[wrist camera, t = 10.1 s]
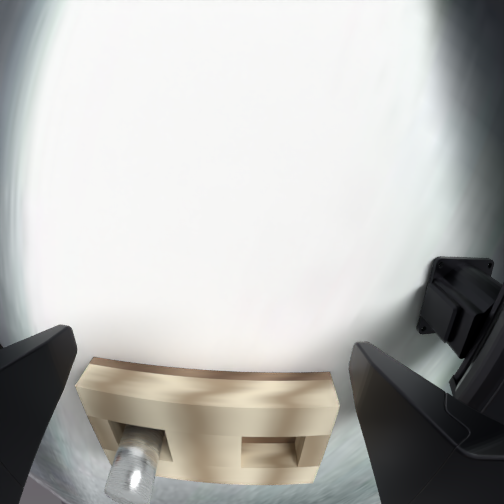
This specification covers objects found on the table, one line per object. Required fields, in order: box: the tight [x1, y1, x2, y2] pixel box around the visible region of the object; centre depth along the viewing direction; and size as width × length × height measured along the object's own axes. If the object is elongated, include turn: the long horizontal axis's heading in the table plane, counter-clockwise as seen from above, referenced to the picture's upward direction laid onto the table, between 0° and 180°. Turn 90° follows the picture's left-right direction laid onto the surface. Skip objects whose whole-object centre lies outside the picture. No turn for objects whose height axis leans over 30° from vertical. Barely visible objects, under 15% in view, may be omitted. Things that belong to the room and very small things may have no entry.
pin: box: [104, 424, 165, 504], centre depth 21 cm, size 4×4×9 cm
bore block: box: [75, 357, 340, 485], centre depth 24 cm, size 20×12×4 cm, turn 88°
